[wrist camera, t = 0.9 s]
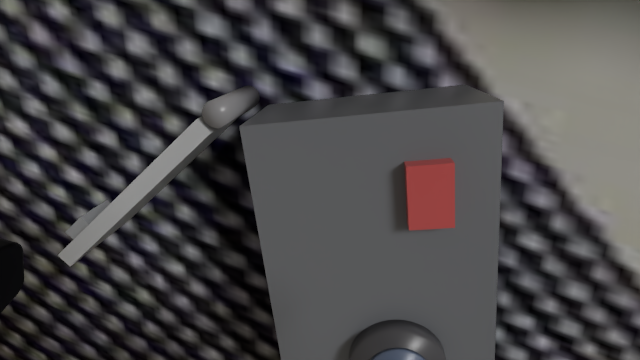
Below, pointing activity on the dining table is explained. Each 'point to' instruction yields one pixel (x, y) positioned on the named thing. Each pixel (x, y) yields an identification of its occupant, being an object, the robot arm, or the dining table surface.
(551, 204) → the dining table surface
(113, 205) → the side door
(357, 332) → the grey appliance box
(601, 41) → the dining table surface
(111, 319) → the dining table surface
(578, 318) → the dining table surface
